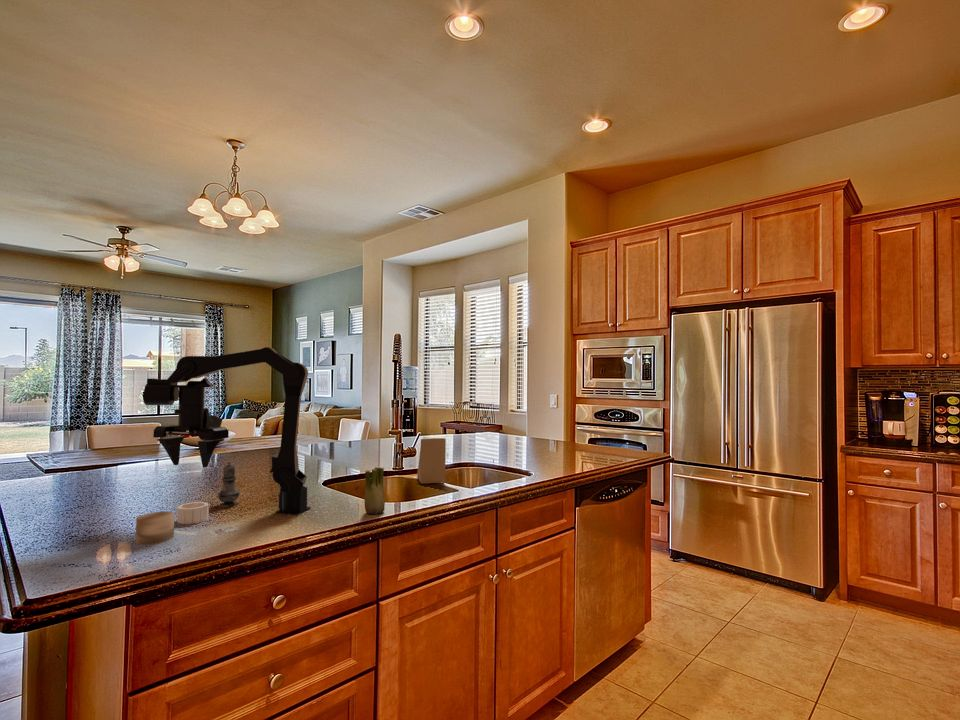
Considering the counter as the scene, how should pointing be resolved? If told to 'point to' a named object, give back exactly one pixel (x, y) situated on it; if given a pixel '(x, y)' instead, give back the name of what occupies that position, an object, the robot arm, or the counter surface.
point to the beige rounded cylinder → (154, 527)
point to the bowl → (192, 512)
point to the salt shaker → (228, 487)
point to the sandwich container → (432, 460)
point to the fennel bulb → (374, 491)
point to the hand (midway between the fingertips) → (190, 466)
